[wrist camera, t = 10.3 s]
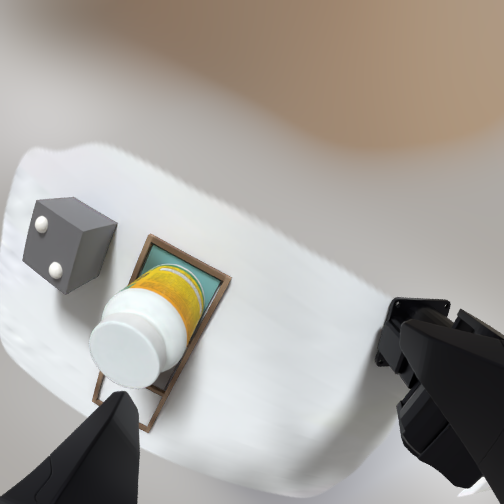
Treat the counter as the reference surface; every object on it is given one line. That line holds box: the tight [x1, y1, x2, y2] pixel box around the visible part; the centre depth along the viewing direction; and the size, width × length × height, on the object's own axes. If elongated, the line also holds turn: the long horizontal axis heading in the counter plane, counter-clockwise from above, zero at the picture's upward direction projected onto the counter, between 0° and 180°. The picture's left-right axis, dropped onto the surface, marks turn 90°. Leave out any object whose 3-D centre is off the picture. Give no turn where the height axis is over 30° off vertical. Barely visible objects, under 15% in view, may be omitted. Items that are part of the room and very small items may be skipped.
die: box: [22, 197, 117, 295], centre depth 19 cm, size 5×5×6 cm
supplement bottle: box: [89, 264, 205, 389], centre depth 17 cm, size 5×5×10 cm
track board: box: [92, 234, 232, 433], centre depth 23 cm, size 20×7×1 cm, turn 151°
